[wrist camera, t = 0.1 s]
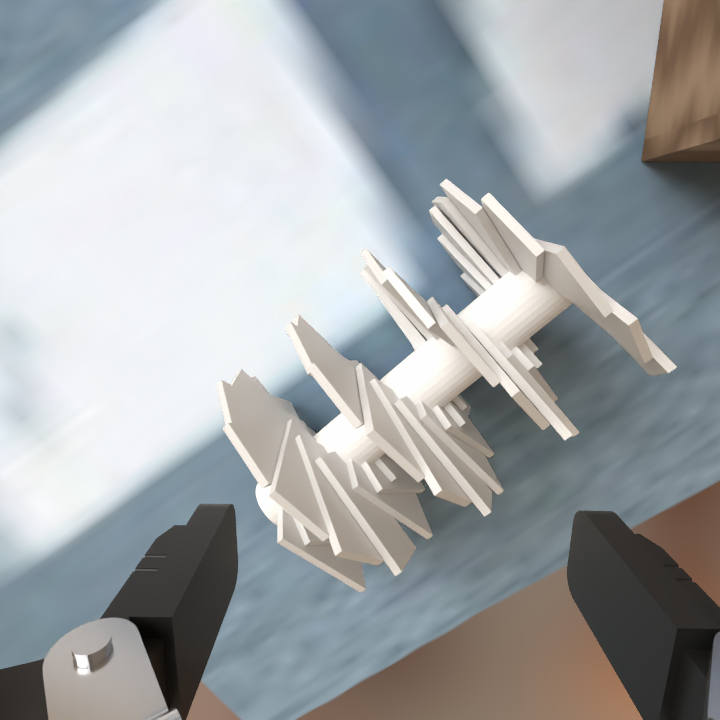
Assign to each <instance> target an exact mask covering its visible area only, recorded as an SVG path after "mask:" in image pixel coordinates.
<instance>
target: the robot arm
mask: <svg viewBox="0 0 720 720" xmlns="http://www.w3.org/2000/svg"><path fill="white" fill-rule="evenodd" d="M237 573H238V553H237V536H236V518H235V509H234V506H233V505H232V504H200V505H199V506H198V507H197V509H196V510H195V512H194V514H193V515H192V517H191V518H190V520H189V521H188V523H187V525H174V526H173V527H172V528H170V529H169V530H168V531H166V532H165V533H163V534H162V535H161V536H159V537H158V538H157V539H156V540H155V541H154V543H153V544H152V545H151V547H150V548H149V550H148V551H147V553H146V554H145V558H142V560H141V561H140V563H139V564H138V565H137V567H136V570H135V571H133V573H132V574H131V575H130V577H129V578H128V580H127V581H126V583H125V584H124V585H123V587H122V588H121V590H120V591H119V593H118V594H117V595H116V597H115V598H114V600H113V601H112V603H111V604H110V605H109V607H108V608H107V610H106V611H105V613H104V614H103V615H102V617H101V618H100V619H98V620H94V621H91V622H88V623H86V624H83V625H81V626H79V627H77V628H75V629H74V630H72V631H70V632H69V633H67V634H66V635H64V636H63V637H62V638H61V639H60V640H58V641H57V642H56V643H55V644H54V646H53V647H52V648H51V649H50V651H49V652H48V653H47V655H46V657H45V659H42V660H38V661H35V662H30V663H26V664H22V665H17V666H13V667H9V668H5V669H0V720H186V718H187V715H188V713H189V710H190V707H191V704H192V702H193V699H194V696H195V694H196V691H197V689H198V686H199V683H200V681H201V678H202V675H203V673H204V670H205V667H206V665H207V662H208V659H209V657H210V654H211V651H212V649H213V646H214V643H215V640H216V638H217V635H218V632H219V630H220V627H221V624H222V622H223V619H224V616H225V614H226V611H227V608H228V606H229V603H230V600H231V598H232V595H233V592H234V589H235V585H236V580H237ZM567 579H568V585H569V589H570V592H571V595H572V597H573V599H574V601H575V603H576V605H577V606H578V608H579V610H580V611H581V613H582V615H583V617H584V618H585V620H586V622H587V623H588V625H589V627H590V629H591V630H592V632H593V634H594V636H595V637H596V639H597V641H598V642H599V644H600V646H601V648H602V649H603V651H604V653H605V654H606V656H607V658H608V660H609V661H610V663H611V665H612V667H613V668H614V670H615V672H616V673H617V675H618V677H619V679H620V680H621V682H622V684H623V685H624V687H625V689H626V690H627V692H628V694H629V695H630V698H631V699H632V701H633V703H634V704H635V706H636V708H637V710H638V711H639V713H640V715H641V717H642V718H643V720H720V607H718V605H717V604H716V603H715V602H714V601H713V600H712V599H711V598H710V597H709V596H708V595H707V594H706V593H705V592H704V591H703V590H702V589H701V588H700V587H699V586H698V585H697V584H696V583H694V582H692V578H691V577H690V576H689V575H688V574H687V573H686V572H685V571H684V570H683V569H682V568H679V567H678V564H677V563H676V562H675V561H674V560H673V559H672V558H671V557H670V556H669V555H668V554H667V553H666V552H665V550H663V549H662V548H661V547H660V546H658V545H656V544H655V543H653V542H652V541H650V540H648V539H647V538H645V537H644V536H642V535H640V534H634V533H633V532H632V531H631V530H630V529H629V527H628V526H627V525H626V524H625V523H624V522H623V521H622V520H621V519H620V518H619V517H618V515H617V514H615V513H614V512H612V511H578V512H577V513H576V514H575V517H574V521H573V528H572V536H571V543H570V551H569V559H568V566H567Z"/></svg>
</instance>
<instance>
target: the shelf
mask: <svg viewBox="0 0 720 720" xmlns="http://www.w3.org/2000/svg"><path fill="white" fill-rule="evenodd" d="M642 161H648V162H720V0H664V5H663V12H662V19H661V26H660V33H659V40H658V47H657V54H656V62H655V69H654V76H653V83H652V90H651V97H650V104H649V111H648V118H647V125H646V132H645V139H644V147H643V154H642Z"/></svg>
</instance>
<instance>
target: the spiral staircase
mask: <svg viewBox="0 0 720 720" xmlns="http://www.w3.org/2000/svg"><path fill="white" fill-rule="evenodd" d="M440 186H441V187H442V189H443V190H444V192H445V193H446V195H447V196H448V197H436V198H435V199H434V200H433V201H432V203H433V204H434V205H435V206H434V207H432V208H431V209H430V210H429V212H430V215H431V218H432V220H433V223H434V224H435V225H436V226H437V227H438V229H439V230H440V231H441V232H442V233H443V234H444V235H445V236H444V235H443V234H442V235H440V236H439V237H438V238H437V239H438V240H439V242H440V243H441V244H442V246H443V247H444V248H445V250H446V251H447V252H448V254H449V255H450V256H451V258H452V259H453V260H454V262H455V263H456V265H457V266H458V267H459V268H460V269H461V270H462V271H463V272H464V273H463V274H462V275H461V278H462V279H463V280H464V281H465V282H466V284H467V285H468V286H469V287H470V288H471V290H472V291H473V292H474V293H475V294H476V296H477V297H478V298H476V299H475V300H474V301H473V302H472V303H471V304H469V305H468V306H467V307H466V308H465V309H463V310H462V311H461V312H460V313H459V314H458V315H456V314H455V313H454V312H453V311H452V309H451V308H450V307H449V306H448V305H447V304H446V305H445V306H444V307H443V308H442V307H441V306H440V305H439V304H438V302H437V301H436V300H435V299H434V298H433V297H432V298H430V299H429V300H428V301H426V300H424V299H423V298H422V297H421V296H420V295H419V294H418V293H417V292H416V291H415V290H414V289H413V288H412V287H410V286H409V285H408V284H407V283H406V282H405V281H404V280H403V279H402V278H401V277H400V276H399V275H398V274H396V273H395V272H394V271H393V270H392V269H391V268H390V267H388V268H387V269H385V268H384V266H383V265H382V264H381V263H380V262H379V261H378V260H377V259H376V258H375V257H374V256H373V255H372V254H371V253H370V252H369V251H368V250H367V249H366V248H365V249H364V250H363V251H362V252H361V253H360V254H361V256H362V257H363V258H364V260H365V261H366V263H367V264H366V266H365V268H364V270H363V271H362V272H361V273H360V274H361V276H362V277H363V278H364V279H365V280H366V282H367V283H368V284H369V285H370V286H371V288H372V289H373V290H374V291H375V292H376V293H377V295H378V298H379V299H380V301H381V302H382V303H383V305H384V306H385V308H386V309H387V310H388V312H389V313H390V314H391V316H392V317H393V319H394V320H395V321H396V323H397V324H398V326H399V327H400V328H401V330H402V331H403V333H404V334H405V335H406V337H407V338H408V340H409V341H410V342H411V344H412V346H413V348H414V350H415V351H414V352H413V353H411V354H410V355H409V356H408V357H407V358H406V359H404V360H403V361H402V362H401V363H400V364H398V365H397V366H396V367H395V368H394V369H393V370H391V371H390V372H389V373H388V374H387V375H385V376H384V377H383V378H382V379H381V380H380V381H379V380H378V379H377V378H376V377H375V376H374V375H373V374H372V373H371V372H370V371H369V370H368V369H367V368H366V367H365V366H364V365H363V364H362V363H359V362H358V361H357V360H351V361H349V360H348V359H346V358H345V357H343V356H342V355H340V354H339V352H337V351H336V350H335V349H334V348H333V347H332V346H331V345H330V344H329V343H328V342H327V341H326V340H325V339H324V338H323V337H322V336H321V335H320V334H319V333H318V332H317V331H315V330H314V329H313V328H312V327H311V326H310V325H309V324H308V323H307V322H306V321H305V320H304V319H303V318H302V317H301V316H300V315H298V316H297V317H296V318H295V319H294V322H293V323H290V324H288V325H287V326H286V327H285V328H286V330H287V332H288V334H287V335H288V336H289V337H290V338H291V341H292V342H293V345H294V347H295V349H296V351H297V353H298V355H299V357H300V359H301V361H302V363H303V365H304V367H305V369H306V372H307V374H308V375H310V376H312V377H314V378H315V379H316V381H317V382H318V383H319V384H320V386H321V387H322V388H323V390H324V391H325V392H326V393H327V395H328V396H329V397H330V399H331V400H332V401H333V402H334V404H335V405H336V406H337V407H338V409H339V410H340V411H341V414H339V415H338V416H337V417H336V418H335V419H333V420H332V421H331V422H330V423H329V424H328V425H326V426H325V427H324V428H323V429H322V430H320V431H319V432H318V433H316V432H314V431H313V430H312V429H310V428H309V427H308V426H307V425H306V424H305V422H303V421H301V420H300V419H299V417H298V415H297V413H296V411H295V409H294V407H293V405H292V403H291V402H289V401H286V400H283V399H281V398H278V397H275V396H272V395H270V394H269V392H268V391H267V390H266V389H265V388H264V386H263V385H262V384H261V383H260V382H259V380H258V379H257V378H256V377H253V378H251V377H250V376H249V375H247V374H246V373H245V372H244V371H243V370H242V369H241V370H240V371H239V372H238V373H237V374H236V376H235V378H234V379H233V381H232V383H231V384H228V383H226V382H224V381H222V380H221V381H220V382H219V383H218V384H217V385H216V386H217V390H218V394H219V399H220V403H221V407H222V412H223V416H224V421H225V425H226V426H225V427H223V430H224V431H225V433H226V435H227V436H228V438H229V439H230V441H231V442H232V444H233V445H234V447H235V448H236V450H237V451H238V453H239V454H240V456H241V457H242V459H243V460H244V462H245V463H246V465H247V466H248V468H249V469H250V471H251V472H252V474H253V475H254V477H255V478H256V480H257V481H258V484H257V487H256V497H257V501H258V503H259V506H260V507H261V509H262V511H263V512H264V514H265V515H266V516H267V517H268V518H269V520H271V521H272V522H273V523H274V524H276V525H277V526H278V543H279V544H280V545H282V546H284V547H285V548H287V549H289V550H290V551H292V552H294V553H296V554H297V555H299V556H301V557H302V558H304V559H306V560H307V561H309V562H311V563H312V564H314V565H316V566H317V567H319V568H321V569H322V570H324V571H326V572H327V573H329V574H331V575H332V576H334V577H336V578H337V579H339V580H341V581H342V582H344V583H346V584H347V585H349V586H351V587H352V588H354V589H356V590H357V591H359V592H363V591H364V590H365V589H366V586H365V581H364V575H363V570H362V564H361V562H364V563H368V564H373V565H377V566H378V565H379V564H381V563H382V562H383V561H385V562H386V563H387V565H388V566H389V568H390V569H391V571H392V572H393V573H394V575H395V576H397V575H398V574H399V573H401V572H402V571H403V569H404V568H405V566H406V564H407V563H408V561H409V560H410V558H411V557H412V555H413V554H414V552H415V550H416V549H417V548H416V547H415V546H414V544H413V543H412V542H411V540H410V539H409V537H408V536H407V535H406V533H405V532H404V530H403V529H402V528H401V526H400V525H399V524H398V522H397V521H396V519H397V520H399V521H400V522H402V523H403V524H405V525H406V526H408V527H409V528H411V529H412V530H414V531H415V532H417V533H418V534H420V535H422V536H423V537H425V538H426V539H429V538H430V537H432V536H433V535H432V532H431V530H430V527H429V525H428V522H427V520H426V517H425V515H424V512H423V510H422V507H421V505H420V502H419V500H418V497H417V495H416V493H421V492H423V491H424V490H425V488H424V486H423V485H422V483H421V482H420V481H421V480H422V479H424V478H425V480H426V482H427V484H428V485H429V487H430V489H431V490H432V492H433V494H434V496H437V497H439V498H442V499H445V500H447V501H450V502H453V503H456V504H458V505H461V506H464V507H466V506H467V505H469V504H470V503H471V502H473V503H474V504H475V505H476V507H477V508H478V509H479V510H480V512H481V513H482V514H483V515H484V517H485V516H486V515H488V514H489V513H491V511H492V491H491V490H490V489H489V487H490V488H491V489H492V490H493V491H494V492H495V493H496V494H497V495H499V494H500V493H502V492H503V491H504V490H503V488H502V486H501V484H500V483H499V481H498V479H497V477H496V475H495V473H494V472H493V470H492V468H491V466H490V464H489V462H488V460H487V459H486V457H485V455H486V456H487V457H489V458H490V457H491V456H493V455H494V452H493V451H492V449H491V448H490V447H489V445H488V444H487V442H486V441H485V440H484V438H483V437H482V436H481V434H480V433H479V431H478V430H477V429H476V427H475V426H474V425H473V423H472V422H471V420H470V419H469V418H468V415H469V413H470V410H471V407H470V406H469V405H468V403H467V402H466V401H465V400H464V399H463V397H462V396H461V394H460V393H461V392H462V391H464V390H465V389H466V388H467V387H469V386H470V385H471V384H472V383H474V382H475V381H476V380H477V379H479V378H480V377H481V376H482V375H483V376H484V377H485V379H486V380H487V381H488V382H489V383H490V384H491V385H492V387H493V388H494V387H495V386H496V385H497V384H499V383H501V385H502V386H503V387H504V388H505V390H506V391H507V392H508V393H509V395H510V396H511V397H512V398H513V399H514V400H515V401H516V402H517V403H518V404H519V406H520V407H521V408H522V409H523V410H524V411H525V412H526V413H527V414H528V415H529V416H530V417H531V418H532V419H533V420H534V421H535V423H536V424H537V425H538V426H539V427H540V428H541V429H542V430H544V429H546V428H547V427H548V426H550V424H551V425H552V426H553V427H554V428H555V430H556V431H557V432H558V433H559V434H560V435H561V437H562V438H563V439H564V440H566V439H568V438H569V437H570V436H573V437H574V436H576V435H577V434H578V433H580V432H579V431H578V430H577V429H576V427H575V426H574V425H573V424H572V423H571V422H570V420H569V419H568V418H567V417H566V416H565V415H564V413H563V412H562V411H561V410H560V409H559V407H558V406H557V405H556V404H555V403H554V402H555V401H556V400H557V399H558V398H557V396H556V395H555V394H554V392H553V391H552V389H551V388H550V387H549V385H548V384H547V383H546V381H545V380H544V378H543V377H542V376H541V374H540V373H539V372H538V370H537V368H538V367H540V366H541V365H542V363H541V362H540V361H539V360H538V358H537V357H536V356H535V355H534V354H533V353H535V352H536V351H537V350H538V348H537V347H536V345H535V344H534V343H533V342H532V340H531V339H530V337H531V336H532V335H534V334H535V333H536V332H537V331H539V330H540V329H541V328H542V327H544V326H545V325H546V324H547V323H549V322H550V321H551V320H552V319H554V318H555V317H556V316H557V315H559V314H560V313H561V312H563V311H564V310H565V309H566V308H568V307H569V306H570V305H571V304H574V305H576V306H577V307H578V308H579V309H580V310H582V311H583V312H584V313H585V314H586V315H587V316H589V317H590V318H591V319H592V320H593V321H595V322H596V323H597V324H598V325H599V326H600V327H602V328H603V329H604V330H605V331H606V332H608V333H609V334H610V335H611V336H612V337H613V338H614V339H615V340H616V341H617V342H618V343H619V344H620V345H621V346H622V347H623V348H624V349H625V350H626V351H627V352H628V353H629V354H630V355H631V356H632V357H633V358H634V359H635V360H636V361H637V363H638V364H639V365H640V366H641V367H642V368H643V369H644V370H645V371H646V372H647V373H648V374H649V375H650V376H652V375H659V374H666V373H670V372H671V371H672V370H674V369H675V368H676V367H677V366H676V365H675V364H674V363H673V362H672V361H671V360H670V359H669V358H668V357H667V356H666V355H665V354H664V353H663V352H662V351H661V350H660V349H659V348H658V347H657V346H656V345H655V344H654V343H653V342H652V341H651V340H650V339H649V338H648V337H647V336H646V335H645V334H644V333H643V331H642V328H641V326H640V323H639V321H638V318H636V317H635V316H634V315H632V314H631V313H630V312H628V311H627V310H626V309H625V308H623V307H622V306H621V305H619V304H618V303H617V302H615V301H614V300H613V299H612V298H610V297H609V296H608V295H606V294H605V293H604V292H603V291H602V290H601V289H600V288H599V287H598V286H597V285H596V284H595V283H594V282H593V281H592V280H591V279H590V278H589V277H588V276H587V275H586V274H585V273H584V271H583V270H582V269H581V267H580V266H579V265H578V263H577V262H576V261H575V259H574V258H573V257H572V255H571V254H570V253H569V252H568V250H567V249H566V248H565V247H564V246H561V245H557V244H553V243H549V242H545V241H541V240H538V239H534V238H533V237H532V236H531V235H530V234H529V233H528V232H527V231H526V230H525V229H524V228H523V227H522V226H521V225H520V224H519V223H518V222H517V221H516V220H515V219H514V218H513V217H512V216H511V215H510V214H509V213H508V212H507V211H506V210H505V209H504V208H503V206H502V205H501V204H500V203H499V202H498V201H497V200H496V199H495V198H494V197H493V196H492V195H491V194H490V193H487V194H486V195H485V196H484V197H483V198H482V199H481V201H482V205H483V207H481V206H480V205H479V204H477V203H476V202H475V201H474V200H472V199H471V198H470V197H469V196H467V195H466V194H465V193H464V192H462V191H461V190H460V189H459V188H457V187H456V186H455V185H454V184H452V183H451V182H450V181H448V180H447V179H445V180H444V181H443V182H442V183H441V184H440ZM498 363H499V364H498ZM504 370H505V371H504ZM509 376H510V377H511V378H510V377H509ZM515 383H516V384H517V385H516V384H515ZM520 389H521V390H522V391H523V392H524V393H523V392H522V391H521V390H520ZM526 396H527V397H528V398H529V399H530V400H529V399H528V398H527V397H526ZM532 403H533V404H534V405H535V406H536V407H535V406H534V405H533V404H532ZM537 409H538V410H539V411H540V412H541V413H542V414H541V413H540V412H539V411H538V410H537ZM543 416H544V417H545V418H546V419H547V420H548V421H549V423H550V424H549V423H548V421H547V420H546V419H545V418H544V417H543ZM485 483H486V484H487V485H488V486H489V487H488V486H487V485H486V484H485ZM470 499H471V500H470ZM395 518H396V519H395ZM383 559H384V560H383Z"/></svg>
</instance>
